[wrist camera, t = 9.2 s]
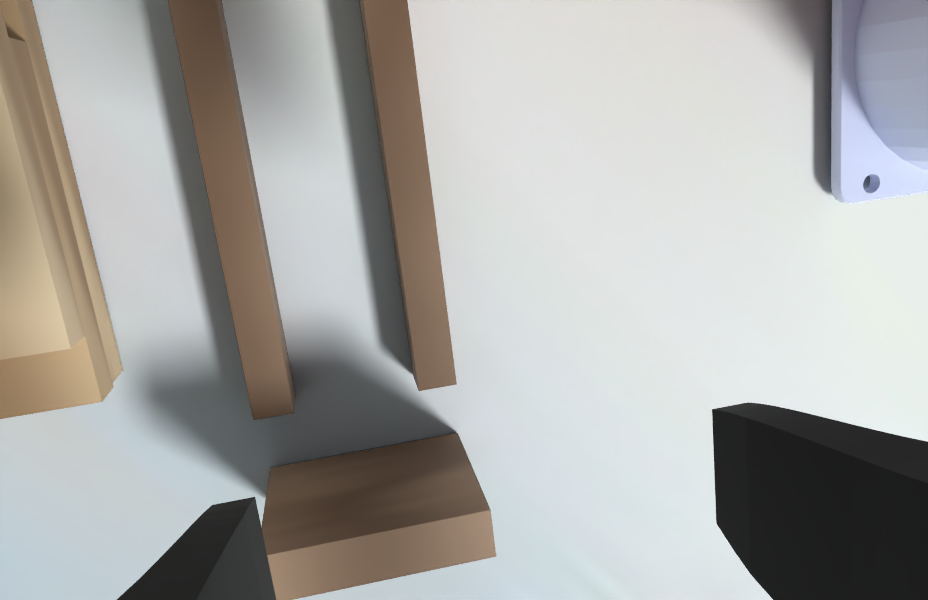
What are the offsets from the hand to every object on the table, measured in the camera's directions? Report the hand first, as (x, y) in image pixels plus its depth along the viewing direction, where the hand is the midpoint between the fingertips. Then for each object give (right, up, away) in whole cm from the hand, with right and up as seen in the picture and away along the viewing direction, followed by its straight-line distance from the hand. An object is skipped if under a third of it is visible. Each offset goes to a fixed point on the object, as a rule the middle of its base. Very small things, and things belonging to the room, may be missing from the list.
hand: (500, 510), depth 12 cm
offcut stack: (-11, +6, +6) cm, 14 cm away
